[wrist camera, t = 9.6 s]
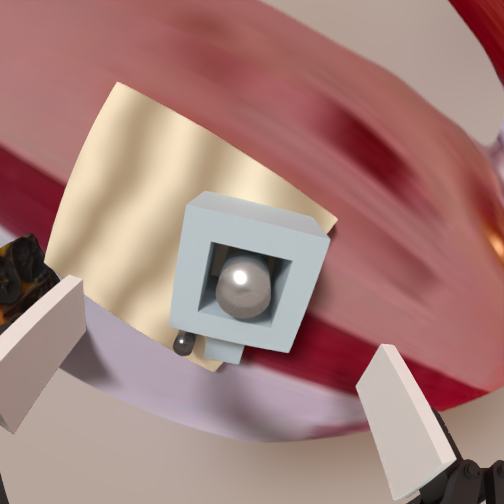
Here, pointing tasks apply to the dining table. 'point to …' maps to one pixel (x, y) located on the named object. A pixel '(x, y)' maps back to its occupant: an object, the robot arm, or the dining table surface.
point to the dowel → (184, 343)
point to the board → (151, 208)
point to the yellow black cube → (22, 277)
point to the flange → (253, 239)
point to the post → (244, 283)
